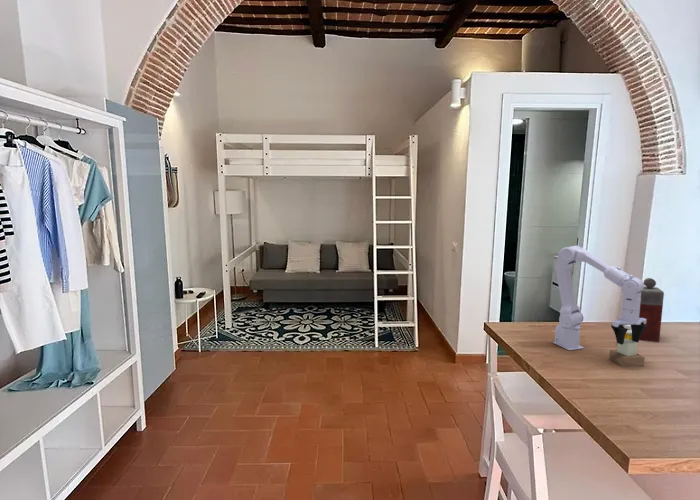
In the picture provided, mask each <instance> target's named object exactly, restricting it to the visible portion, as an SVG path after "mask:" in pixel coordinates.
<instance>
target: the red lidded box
mask: <svg viewBox="0 0 700 500" xmlns="http://www.w3.org/2000/svg"><path fill="white" fill-rule="evenodd" d="M643 283H644V288H643V290H642V291H640V292H641V302H640V312H639V318H644V319H646V324H644V325H647V328H646V329H645V331H644V332H643V333H642V335H641V337H640V340H639V341H645V342H651V343H652V342H653V343H654V342H655V343H660V338H661V329H662V328H661V327H662V316H663V305H664V296H665V292H664V291H663V290H661V289H660V288H659V287H656V286H657V282H656V280H655V279H654V278H652V277H648V278H645V279H644V280H643ZM638 293H639V292H638Z"/></svg>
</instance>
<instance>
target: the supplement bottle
mask: <svg viewBox="0 0 700 500" xmlns="http://www.w3.org/2000/svg"><path fill="white" fill-rule="evenodd" d="M623 327H624V328H626V329H628V330H627V332H626V334H625V338H624V339H629V340H631V341H632V329H631V325H625V326H623Z"/></svg>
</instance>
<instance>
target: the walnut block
mask: <svg viewBox="0 0 700 500" xmlns="http://www.w3.org/2000/svg"><path fill="white" fill-rule="evenodd" d="M608 359H609V360H611V361H613V362H614V363H615V364H617V365H619V366H621V367H623V368H628V367H629V368H633V367H634V368H637V367H644V366H645V357H644V356H643V355H641V354H640V353H639V354H638V353H637V355H633V356H626V355H623V354H621V353H618V352H617V349H609V358H608Z"/></svg>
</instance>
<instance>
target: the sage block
mask: <svg viewBox="0 0 700 500" xmlns="http://www.w3.org/2000/svg"><path fill="white" fill-rule="evenodd" d="M638 343H639V342H638ZM638 343H637V342H634V341H631V340H629V339H624V343H623V344H622V345H621V344H619V343H617V347H616V348H617V349H616V350H617V352H618V353H621V354H623V355H626V356H633V355H637V354H638Z"/></svg>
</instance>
